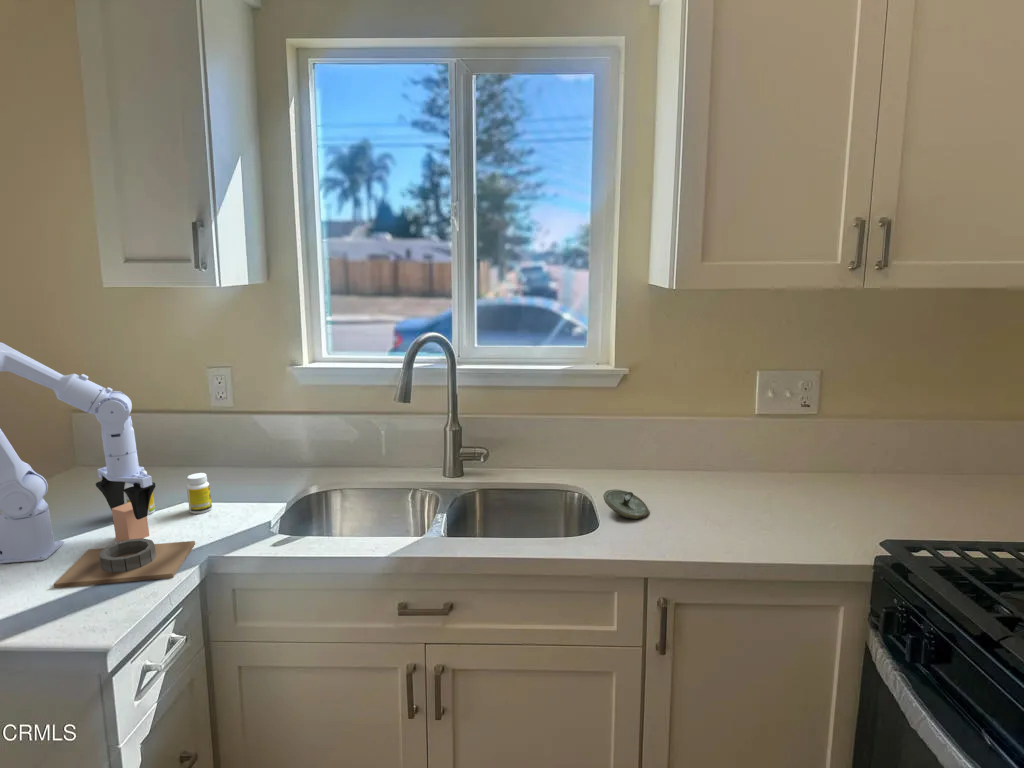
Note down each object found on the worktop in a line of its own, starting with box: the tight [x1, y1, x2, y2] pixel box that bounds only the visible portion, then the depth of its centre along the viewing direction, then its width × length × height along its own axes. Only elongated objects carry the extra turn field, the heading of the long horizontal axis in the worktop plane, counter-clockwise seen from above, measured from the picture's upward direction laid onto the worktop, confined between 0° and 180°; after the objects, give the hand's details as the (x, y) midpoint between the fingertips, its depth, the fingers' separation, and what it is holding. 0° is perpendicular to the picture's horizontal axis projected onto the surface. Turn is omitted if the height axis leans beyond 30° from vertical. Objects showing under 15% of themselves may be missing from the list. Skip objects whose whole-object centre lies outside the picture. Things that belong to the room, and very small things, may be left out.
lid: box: [602, 489, 649, 520], centre depth 150 cm, size 11×10×5 cm
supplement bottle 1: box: [124, 469, 156, 516], centre depth 153 cm, size 5×5×10 cm
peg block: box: [111, 502, 150, 542], centre depth 140 cm, size 4×4×7 cm
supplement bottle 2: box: [186, 472, 213, 515], centre depth 154 cm, size 5×5×8 cm
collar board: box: [53, 538, 196, 589], centre depth 128 cm, size 20×14×3 cm
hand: (129, 514), depth 140 cm, fingers open, 7 cm apart
